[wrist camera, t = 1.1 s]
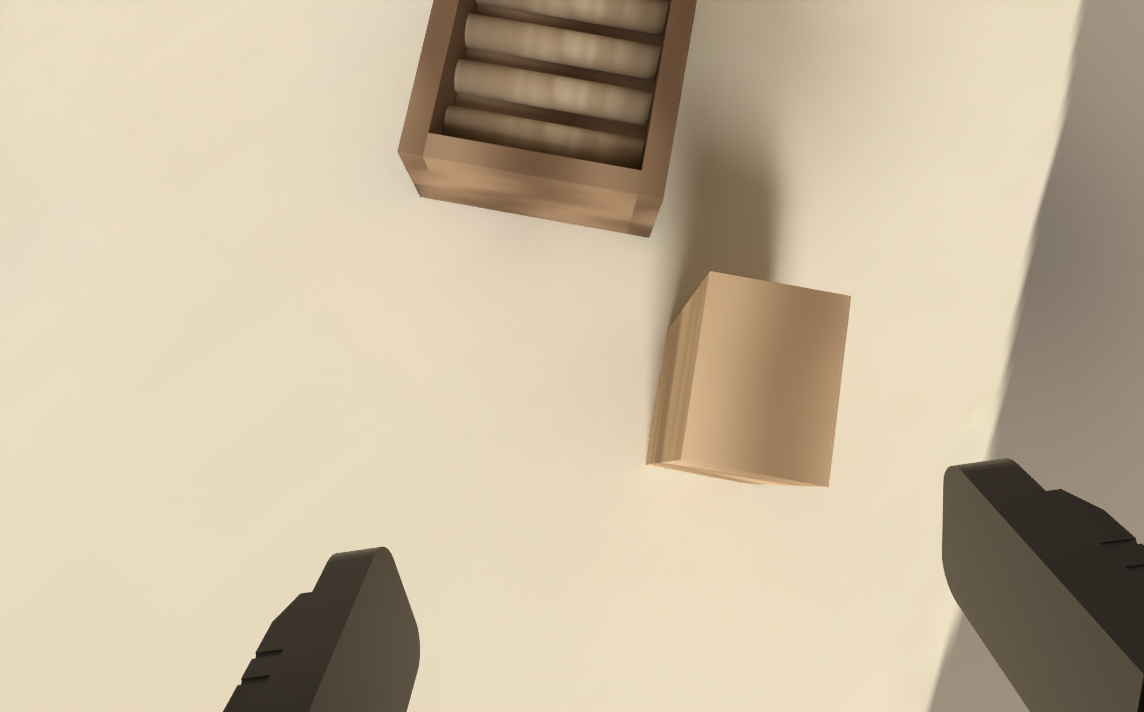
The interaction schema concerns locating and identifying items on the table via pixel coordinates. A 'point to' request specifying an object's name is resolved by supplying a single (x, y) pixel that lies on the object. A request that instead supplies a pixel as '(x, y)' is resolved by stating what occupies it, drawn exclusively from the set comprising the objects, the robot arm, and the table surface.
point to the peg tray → (549, 107)
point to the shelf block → (751, 383)
